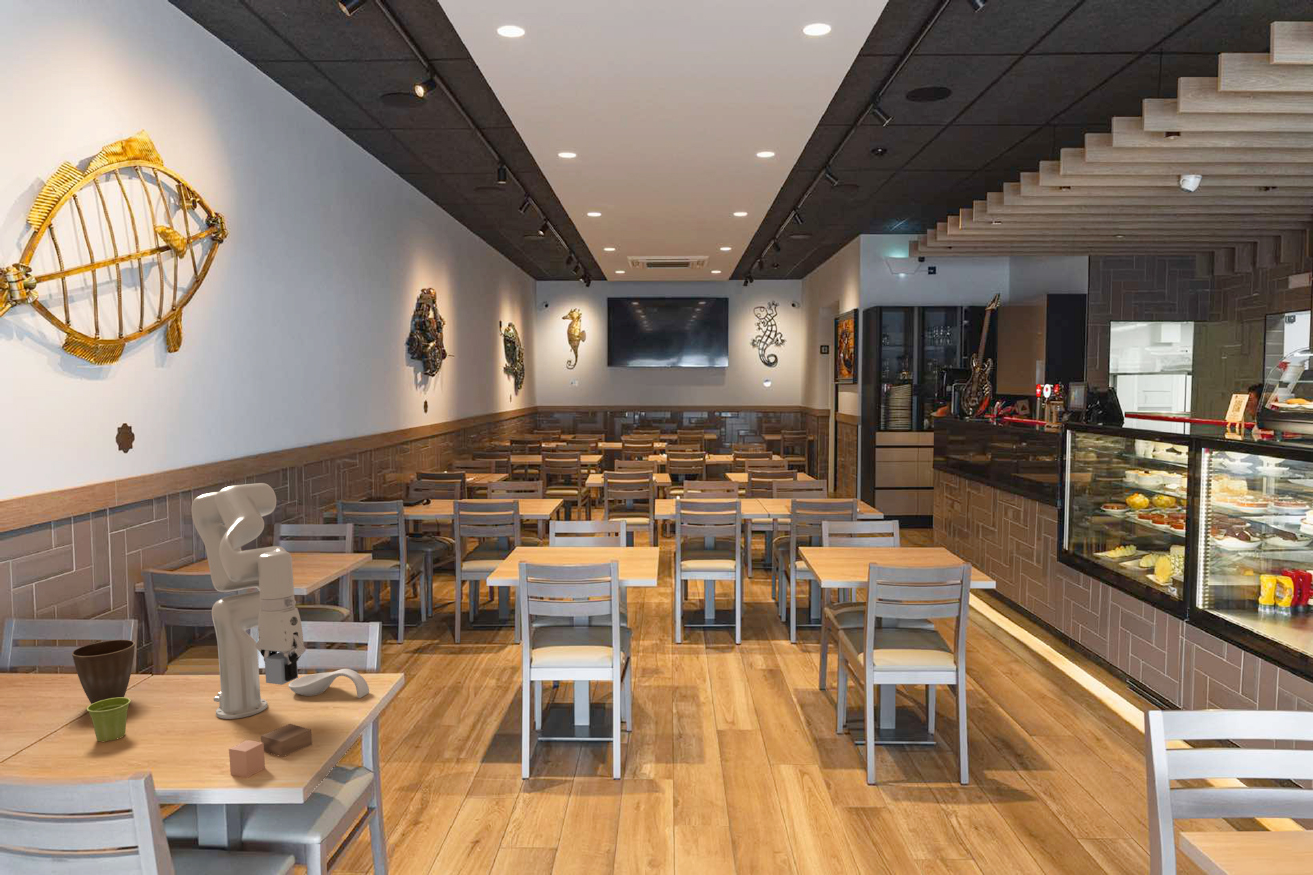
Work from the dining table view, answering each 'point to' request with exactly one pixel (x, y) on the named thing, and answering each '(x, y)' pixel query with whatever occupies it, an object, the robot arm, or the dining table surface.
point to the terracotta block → (247, 758)
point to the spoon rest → (327, 682)
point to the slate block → (276, 669)
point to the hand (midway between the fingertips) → (282, 677)
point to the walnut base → (286, 740)
